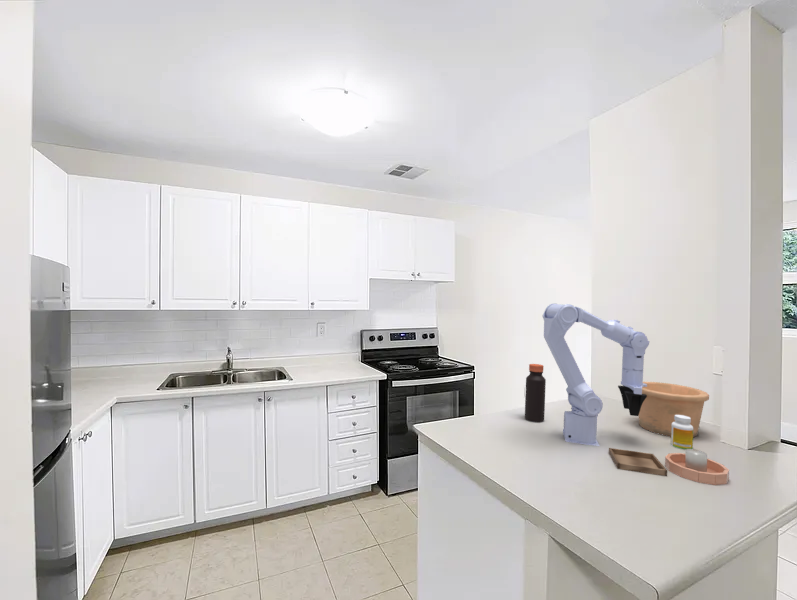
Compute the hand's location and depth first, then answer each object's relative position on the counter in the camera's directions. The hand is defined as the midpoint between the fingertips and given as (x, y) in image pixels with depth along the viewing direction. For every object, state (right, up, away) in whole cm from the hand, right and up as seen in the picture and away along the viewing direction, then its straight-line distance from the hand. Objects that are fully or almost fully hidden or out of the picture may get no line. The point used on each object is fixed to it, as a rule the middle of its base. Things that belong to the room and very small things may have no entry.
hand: (630, 412), depth 121 cm
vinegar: (-23, -9, +19) cm, 32 cm away
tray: (-9, -9, -18) cm, 22 cm away
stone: (+3, -9, -22) cm, 24 cm away
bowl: (+3, -10, -22) cm, 24 cm away
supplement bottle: (+13, -10, -4) cm, 17 cm away
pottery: (+21, -10, +13) cm, 27 cm away
